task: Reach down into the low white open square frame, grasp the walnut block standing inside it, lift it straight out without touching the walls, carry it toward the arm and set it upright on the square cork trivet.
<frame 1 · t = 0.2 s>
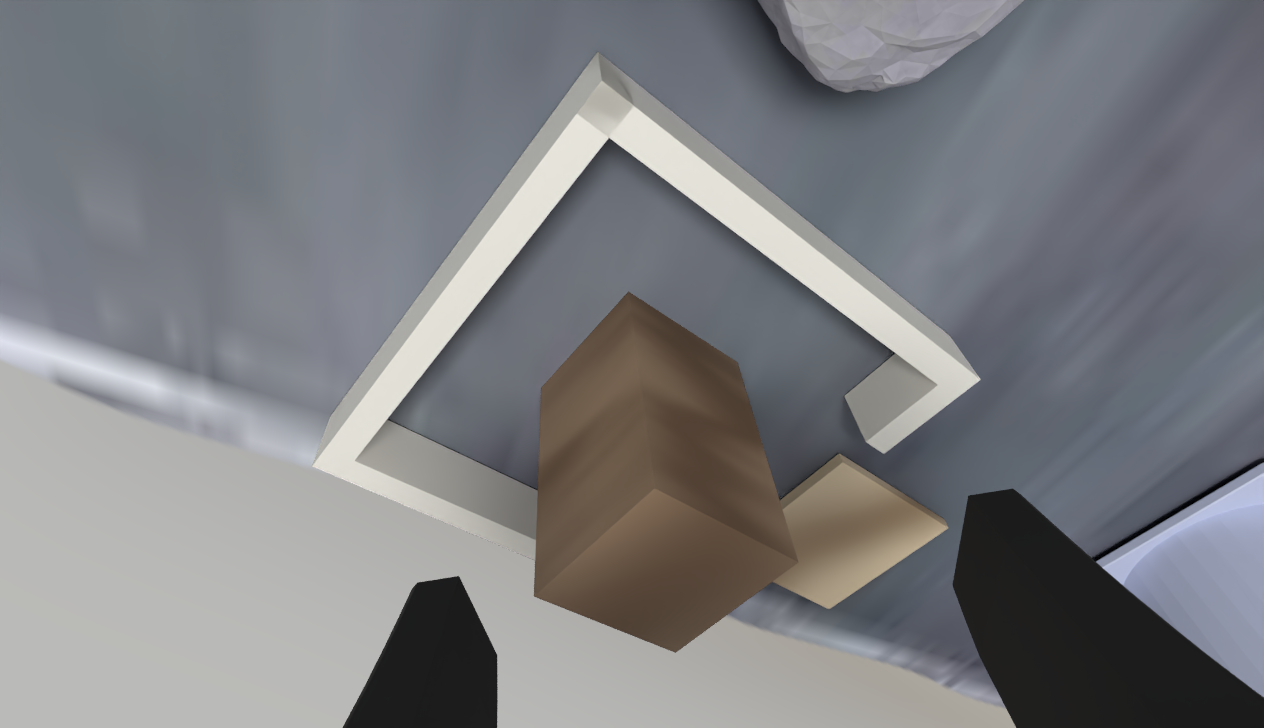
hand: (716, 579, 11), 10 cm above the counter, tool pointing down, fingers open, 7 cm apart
cork trivet: (832, 533, 26), on the counter
white open square frame: (639, 376, 21), on the counter
walnut block: (639, 375, 21), resting in white open square frame
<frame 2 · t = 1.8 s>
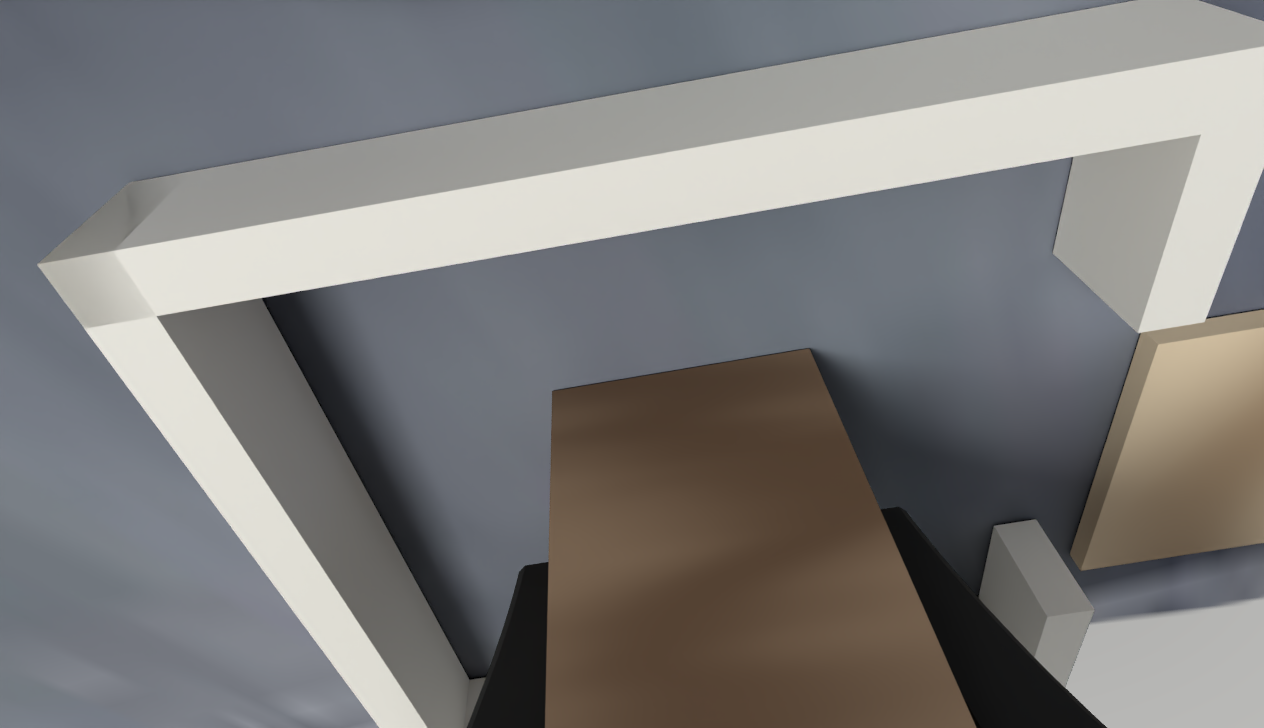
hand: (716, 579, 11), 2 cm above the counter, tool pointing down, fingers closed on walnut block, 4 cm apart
cork trivet: (1261, 430, 13), on the counter
white open square frame: (693, 462, 13), on the counter
walnut block: (693, 461, 13), resting in white open square frame, touching gripper
when the fingers open (4 cm above the counter, at t = 5.7 s): walnut block stays where it is, resting on cork trivet.
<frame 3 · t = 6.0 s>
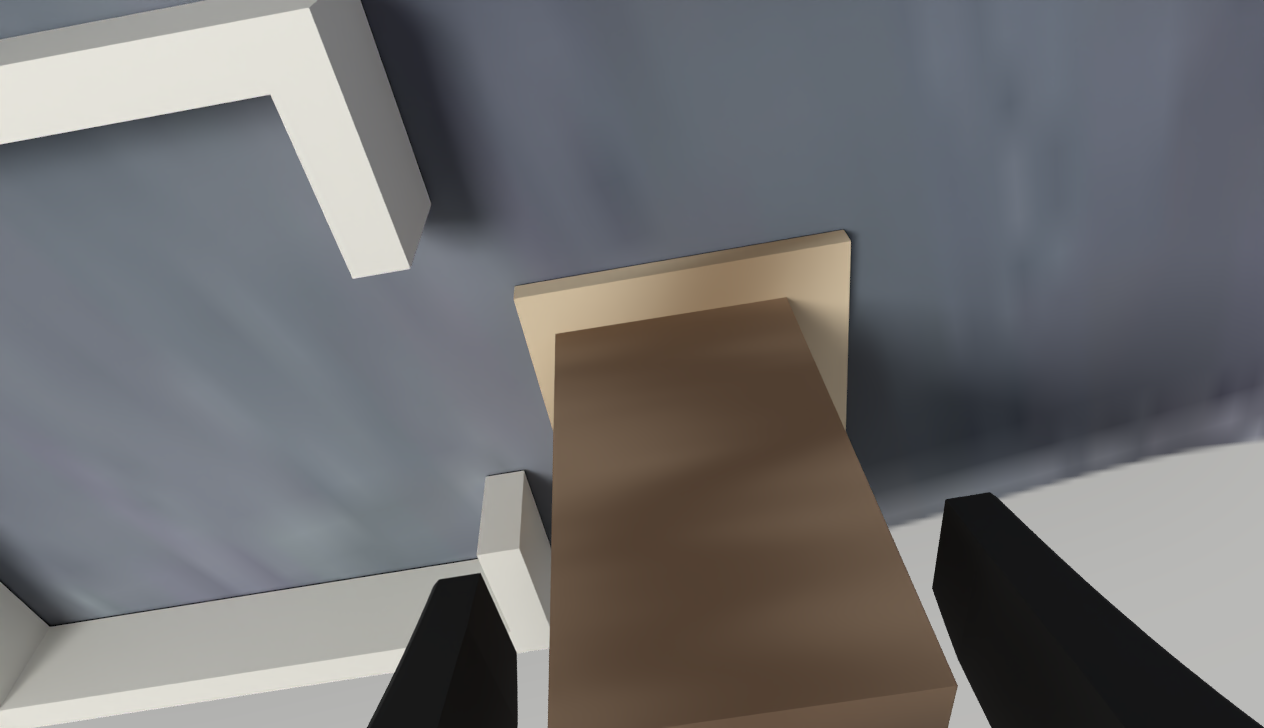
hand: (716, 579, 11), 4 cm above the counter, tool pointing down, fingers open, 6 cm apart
cork trivet: (694, 385, 14), on the counter
white open square frame: (148, 412, 14), on the counter
walnut block: (682, 403, 14), resting on cork trivet
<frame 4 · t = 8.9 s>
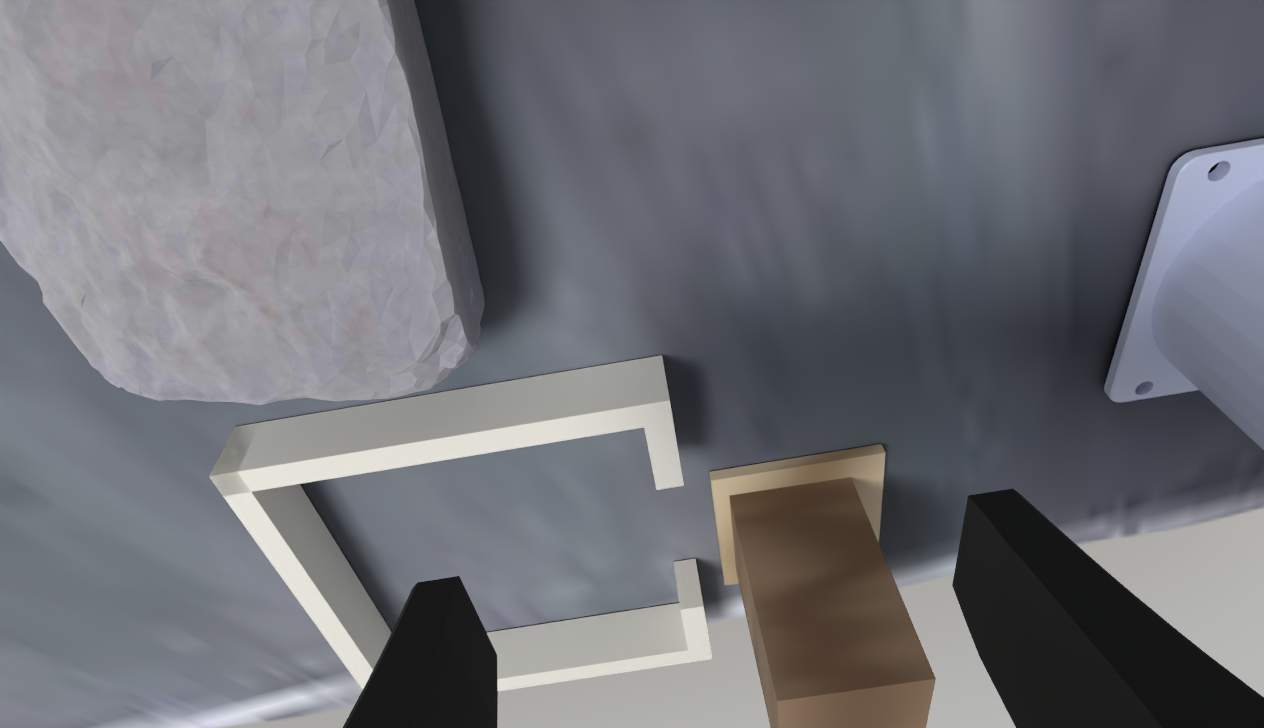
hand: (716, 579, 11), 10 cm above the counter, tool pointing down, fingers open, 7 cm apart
cork trivet: (796, 514, 26), on the counter
white open square frame: (502, 532, 25), on the counter
stone block: (235, 117, 17), on the counter
walnut block: (790, 526, 26), resting on cork trivet
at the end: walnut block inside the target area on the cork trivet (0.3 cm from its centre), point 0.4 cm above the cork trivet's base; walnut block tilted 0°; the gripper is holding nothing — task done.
